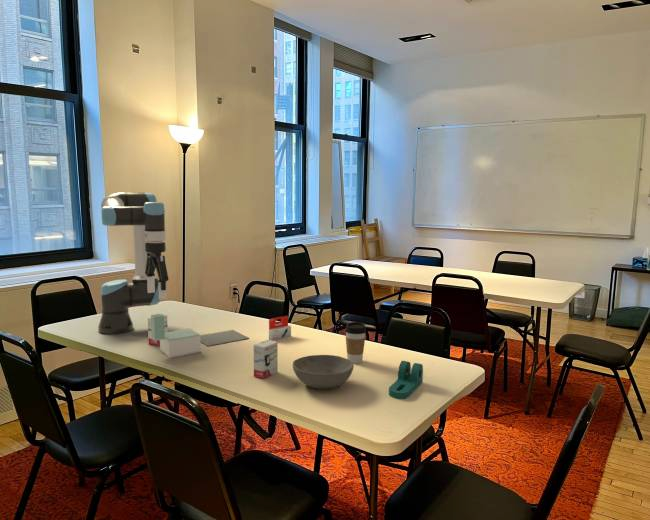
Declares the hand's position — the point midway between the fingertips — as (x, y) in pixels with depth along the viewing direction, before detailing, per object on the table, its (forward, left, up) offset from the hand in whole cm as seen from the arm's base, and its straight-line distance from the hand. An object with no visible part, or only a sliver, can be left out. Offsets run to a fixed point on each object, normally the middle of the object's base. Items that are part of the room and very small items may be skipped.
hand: (156, 295), depth 195 cm
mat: (-8, +31, -25) cm, 40 cm away
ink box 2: (+42, +25, -25) cm, 55 cm away
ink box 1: (-18, +6, -25) cm, 32 cm away
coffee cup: (+50, +61, -25) cm, 83 cm away
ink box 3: (+7, +53, -25) cm, 59 cm away
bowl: (+62, +36, -25) cm, 76 cm away
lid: (0, +7, -18) cm, 19 cm away
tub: (0, +9, -25) cm, 26 cm away
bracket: (+81, +57, -25) cm, 102 cm away
